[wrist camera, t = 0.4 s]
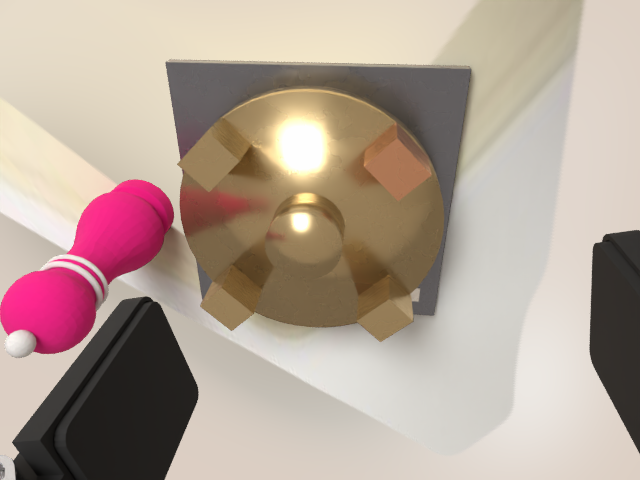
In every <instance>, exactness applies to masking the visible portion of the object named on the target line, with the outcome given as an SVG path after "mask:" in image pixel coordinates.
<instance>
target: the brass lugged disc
mask: <svg viewBox="0 0 640 480" xmlns="http://www.w3.org/2000/svg"><path fill="white" fill-rule="evenodd" d="M177 165H178V166H180V167H181V168H182V169H183V170H184V174H183V179H182V184H181V189H180V213H181V221H182V224H183V229H184V233H185V236H186V239H187V241H188V244H189V246H190V249H191V250H192V252H193V254H194V256H195V258H196V260H197V261H198V263H199V264H200V266H201V267H202V269H203V270H204V271H205V273H206V274H207V275H208V276H209V277H210V278H211V280H212V281H213V282H212V283H211V285H210V287H209V289H208V291H207V293H206V295H205V297H204V299H203V301H202V303H201V305H200V307H202V308H203V309H204V310H205V311H207V312H208V313H209V314H210V315H212V316H213V317H214V318H216V319H217V320H218V321H219V322H221V323H222V324H223V325H225V326H226V327H227V328H228V329H230V330H231V331H232V330H234V329H235V328H236V327H237V326H239V325H240V324H241V323H243V322H244V321H245V320H246V319H248V318H249V317H250V316H252V315H253V314H254V312H256V313H258V314H261V315H263V316H265V317H268V318H271V319H274V320H277V321H280V322H284V323H288V324H293V325H299V326H307V327H335V326H343V325H349V324H354V323H359V324H360V325H361V326H363V327H364V328H365V329H366V330H367V331H368V332H369V333H371V334H372V335H373V336H374V337H375V338H376V339H377V340H379V341H380V342H381V341H383V340H385V339H386V338H388V337H389V336H391V335H393V334H394V333H396V332H397V331H399V330H400V329H402V328H404V327H405V326H407V325H408V324H410V323H412V322H413V310H412V297H411V295H410V294H411V293H412V292H413V291H414V290H415V289H416V288H417V287H418V286H419V285H420V283H421V282H422V281H423V279H424V278H425V277H426V276H427V274H428V272H429V271H430V269H431V267H432V265H433V263H434V262H435V259H436V257H437V254H438V251H439V249H440V245H441V241H442V236H443V229H444V207H443V199H442V195H441V190H440V186H439V182H438V178H437V174H436V172H435V169H434V167H433V164H432V162H431V159H430V157H429V156H428V154H427V152H426V151H425V149H424V147H423V145H422V144H421V143H420V141H419V140H418V139H417V138H416V136H415V135H414V134H413V133H412V131H411V130H410V129H409V128H408V127H407V126H406V125H405V124H404V123H402V122H401V121H400V120H399V119H398V118H397V117H396V116H394V115H393V114H391V113H390V112H389V111H387V110H386V109H385V108H383V107H382V106H380V105H378V104H376V103H374V102H372V101H370V100H368V99H367V98H364V97H361V96H359V95H356V94H353V93H351V92H348V91H344V90H339V89H335V88H331V87H322V86H311V85H308V86H290V87H284V88H279V89H273V90H270V91H267V92H264V93H261V94H258V95H255V96H253V97H251V98H249V99H247V100H245V101H243V102H241V103H240V104H238V105H237V106H235V107H234V108H232V109H231V110H229V111H228V112H227V113H225V114H224V115H223V116H221V117H220V118H219V119H218V120H217V121H216V122H215V123H214V124H213V126H212V127H211V128H210V129H209V130H208V131H207V132H206V133H205V134H204V135H203V136H202V137H201V139H200V140H199V141H198V142H197V143H196V144H195V145H194V146H193V147H192V148H191V149H190V151H189V152H188V153H187V154H186V155H185V156H184V157H183V158H182V159H181V160H180V162H179V163H178V164H177Z"/></svg>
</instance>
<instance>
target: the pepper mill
mask: <svg viewBox="0 0 640 480" xmlns="http://www.w3.org/2000/svg"><path fill="white" fill-rule="evenodd" d="M173 219H174V212H173V207H172V204H171V202H170V200H169V198H168V197H167V196H166V194H165V193H164V192H163V191H162V190H161V189H160V188H158V187H156V186H155V185H153V184H152V183H149V182H146V181H143V180H128V181H125V182H122V183H121V184H119V185H118V186H117V187H116V188H115V189H114V190H112V191H111V192H110V193H105V194H103V195H101V196H99V197H97V198H95V199H94V200H93V201H92V202H91V203H90V204H89V205H88V206H87V208H86V209H85V210H84V212H83V213H82V215H81V218H80V220H79V223H78V225H77V230H76V236H75V241H74V245H73V247H72V249H71V250H70V251H69V252H68V253H67V254H64V255H58V256H55V257H53V258H51V259H50V260H49V261H48V262H47V263H46V264H45V265H44V266H42V267H41V268H40V270H39V271H35V272H31V273H29V274H27V275H24V276H23V277H22V278H20V279H18V280H17V281H16V282H15V283H14V284H13V285H12V286H11V287H10V288H9V289H8V291H7V292H6V294H5V295H4V298H3V300H2V302H1V306H0V319H1V323H2V325H3V328H4V330H5V331H6V333H7V334H8V337H7V339H6V341H5V349H6V352H7V353H8V354H9V355H11V356H12V357H15V358H22V357H26V356H28V355H29V354H30V353H32V352H37V353H41V354H55V353H59V352H63V351H66V350H69V349H70V348H72V347H74V346H75V345H77V344H78V343H80V342H81V341H82V340H83V339H84V338H85V337H86V336H87V335H88V333H89V332H90V331H91V329H92V327H93V324H94V322H95V318H96V311H97V310H98V309H99V308H100V306H101V304H102V303H103V302H104V301H105V300H106V298H107V296H108V285H109V284H110V282H111V281H112V280H113V279H114V278H116V277H118V276H120V275H122V274H125V273H128V272H131V271H134V270H137V269H138V268H140V267H142V266H144V265H146V264H147V263H148V262H150V261H151V260H152V259H153V258H154V257H155V256H156V255H157V253H158V252H159V251H160V249H161V247H162V244H163V241H164V235H165V234H166V232H167V231H168V230H169V228H170V227H171V225H172V223H173Z"/></svg>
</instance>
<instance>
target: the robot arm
mask: <svg viewBox="0 0 640 480" xmlns="http://www.w3.org/2000/svg"><path fill="white" fill-rule="evenodd" d="M591 291H592V292H591V320H590V356H591V360H592V364H593V366H594V368H595V370H596V372H597V374H598V376H599V378H600V380H601V382H602V383H603V385H604V387H605V389H606V391H607V393H608V395H609V396H610V399H611V400H612V402H613V404H614V406H615V408H616V410H617V412H618V413H619V415H620V417H621V419H622V421H623V423H624V425H625V427H626V428H627V431H628V432H629V434H630V436H631V438H632V440H633V442H634V444H635V446H636V447H637V449H638V451H639V453H640V231H639V230H634V231H627V232H620V233H612V234H606V235H605V236H604V237H603V240H602V242H601V243H595V244H594V247H593V260H592V289H591ZM197 400H198V387H197V384H196V382H195V380H194V377H193V375H192V373H191V371H190V369H189V366H188V364H187V362H186V360H185V358H184V355H183V353H182V351H181V350H180V347H179V345H178V342H177V340H176V338H175V336H174V334H173V332H172V329H171V327H170V325H169V323H168V321H167V319H166V316H165V314H164V312H163V310H162V308H161V306H160V304H158V302H154V301H153V300H152V299H151V298H150V297H140V298H132V299H126V300H123V301H121V302H120V303H119V305H118V306H117V307H116V309H115V310H114V311H113V312H112V314H111V315H110V316H109V318H108V319H107V320H106V321H105V323H104V324H103V325H102V327H101V328H100V329H99V331H98V332H97V333H96V334H95V336H94V337H93V338H92V339H91V341H90V342H89V343H88V345H87V346H86V347H85V349H84V350H83V351H82V353H81V354H80V355H79V356H78V358H77V359H76V360H75V362H74V363H73V364H72V365H71V367H70V368H69V369H68V371H67V372H66V373H65V375H64V376H63V377H62V378H61V380H60V381H59V382H58V383H57V385H56V386H55V387H54V389H53V390H52V391H51V392H50V394H49V395H48V396H47V398H46V399H45V400H44V401H43V403H42V404H41V405H40V407H39V408H38V409H37V411H36V412H35V413H34V414H33V416H32V417H31V418H30V420H29V421H28V422H27V423H26V425H25V426H24V427H23V429H22V430H21V431H20V432H19V434H18V435H17V436H16V438H15V439H14V440H13V442H12V443H13V444H14V446H15V447H16V448H17V450H18V451H19V452H20V453H19V454H18V455H17V457H16V458H15V459H14V461H13V460H12V458H10V457H8V456H6V455H0V480H164V479H165V477H166V474H167V472H168V470H169V467H170V465H171V463H172V460H173V458H174V455H175V453H176V451H177V448H178V446H179V443H180V441H181V439H182V436H183V434H184V431H185V429H186V427H187V425H188V422H189V420H190V418H191V415H192V413H193V410H194V408H195V406H196V403H197Z"/></svg>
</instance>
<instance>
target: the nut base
mask: <svg viewBox="0 0 640 480" xmlns="http://www.w3.org/2000/svg"><path fill="white" fill-rule="evenodd" d="M166 68H167V75H168V81H169V87H170V94H171V101H172V107H173V114H174V120H175V126H176V133H177V139H178V146H179V152H180V158H181V159H182V158H183V157H184V156H185V155H186V154H187V153H188V152H189V151H190V149H191V148H192V147H193V146H194V145H195V144H196V143H197V142H198V141H199V140H200V139H201V137H202V136H203V135H204V134H205V133H206V132H207V131H208V130H209V129H210V128H211V127H212V126H213V124H214V123H215V122H216V121H217V120H218V119H219V118H220V117H221V116H223V115H224V114H225V113H227V112H228V111H229V110H231V109H232V108H234V107H235V106H237V105H238V104H240V103H241V102H243V101H245V100H247V99H249V98H251V97H253V96H255V95H258V94H261V93H264V92H267V91H270V90H273V89H279V88H284V87H290V86H308V85H311V86H322V87H331V88H335V89H339V90H344V91H348V92H351V93H353V94H356V95H359V96H361V97H364V98H367V99H368V100H370V101H372V102H374V103H376V104H378V105H380V106H382V107H383V108H385V109H386V110H387V111H389V112H390V113H391V114H393V115H394V116H396V117H397V118H398V119H399V120H400V121H401V122H402V123H404V124H405V125H406V126H407V127H408V128H409V129H410V130H411V131H412V133H413V134H414V135H415V136H416V138H417V139H418V140H419V141H420V143H421V144H422V145H423V147H424V149H425V151H426V152H427V154H428V156H429V157H430V159H431V162H432V164H433V167H434V169H435V172H436V174H437V178H438V182H439V186H440V190H441V195H442V199H443V207H444V229H443V236H442V241H441V245H440V249H439V251H438V254H437V257H436V259H435V262H434V263H433V265H432V267H431V269H430V271H429V272H428V274H427V276H426V277H425V278H424V279H423V281H422V282H421V283H420V285H419V286H418V287H417V288H416V289H415V290H414V291H413V292H412V293H411V294H410V295H411V297H412V310H413V314H419V315H434V311H435V304H436V298H437V291H438V285H439V278H440V272H441V265H442V258H443V252H444V245H445V239H446V232H447V225H448V219H449V212H450V206H451V199H452V192H453V186H454V179H455V173H456V166H457V159H458V153H459V146H460V140H461V133H462V127H463V120H464V113H465V107H466V100H467V94H468V87H469V80H470V74H471V68H470V66H440V65H395V64H393V65H392V64H391V65H390V64H349V63H348V64H347V63H304V62H257V61H210V60H169V61H167V62H166ZM182 171H183V174H184V170H183V169H182ZM196 261H197V260H196ZM197 267H198V274H199V280H200V287H201V293H202V299H204V297H205V295H206V293H207V291H208V289H209V287H210V285H211V283H212V282H213V281H212V280H211V278H210V277H209V276H208V275H207V274H206V273H205V271H204V270H203V269H202V267H201V266H200V264H199V263H198V261H197Z"/></svg>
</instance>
